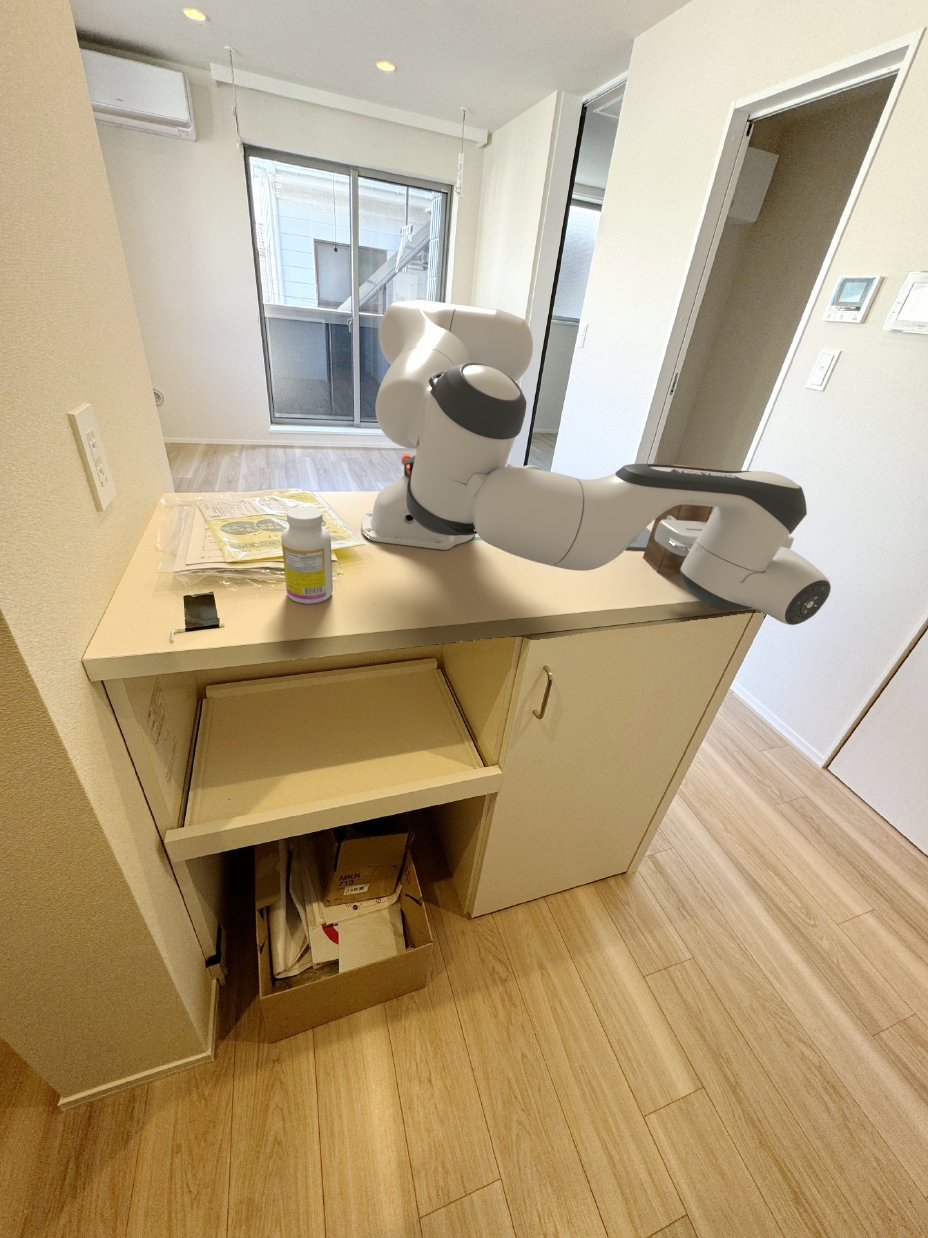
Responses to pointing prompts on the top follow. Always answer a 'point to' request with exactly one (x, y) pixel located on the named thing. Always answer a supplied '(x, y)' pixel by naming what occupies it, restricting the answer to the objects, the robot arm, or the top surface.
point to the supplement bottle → (307, 556)
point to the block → (660, 555)
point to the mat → (640, 540)
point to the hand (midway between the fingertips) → (693, 521)
